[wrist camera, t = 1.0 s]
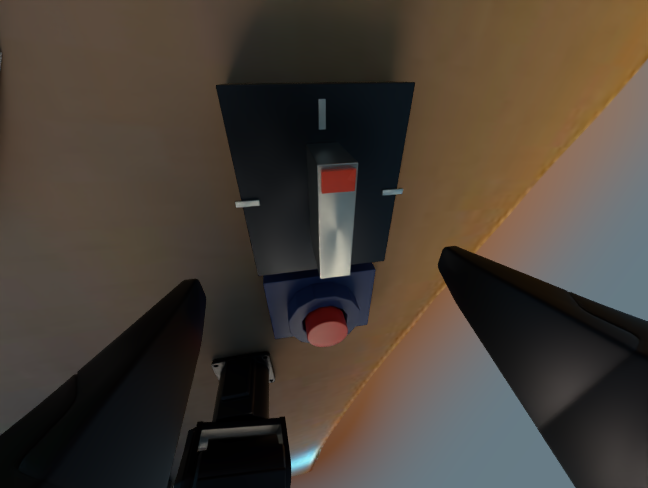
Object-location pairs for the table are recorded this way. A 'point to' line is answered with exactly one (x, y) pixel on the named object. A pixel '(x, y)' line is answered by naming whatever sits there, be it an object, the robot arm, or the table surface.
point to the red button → (326, 326)
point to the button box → (317, 298)
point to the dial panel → (291, 161)
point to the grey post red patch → (331, 206)
